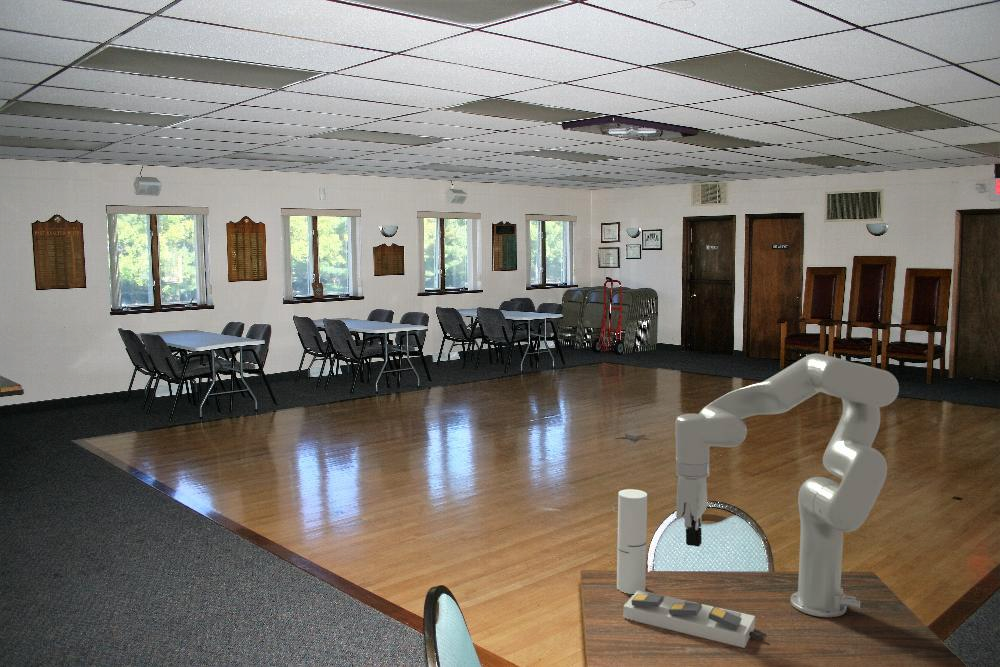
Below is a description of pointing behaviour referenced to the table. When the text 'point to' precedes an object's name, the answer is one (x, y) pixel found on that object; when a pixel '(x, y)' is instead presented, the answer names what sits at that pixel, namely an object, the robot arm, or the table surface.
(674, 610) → the middle rocker
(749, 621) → the power strip
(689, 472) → the robot arm
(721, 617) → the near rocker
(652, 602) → the far rocker
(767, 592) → the table surface
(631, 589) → the cylindrical container
